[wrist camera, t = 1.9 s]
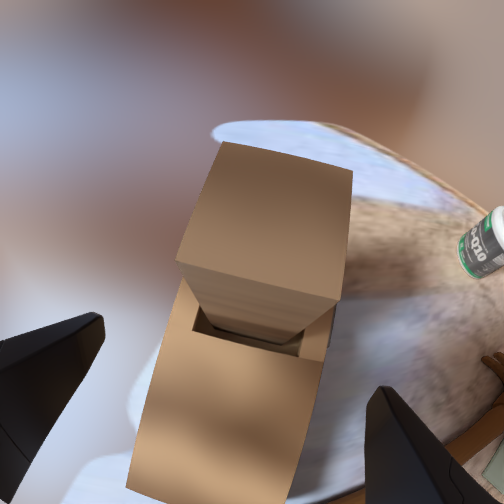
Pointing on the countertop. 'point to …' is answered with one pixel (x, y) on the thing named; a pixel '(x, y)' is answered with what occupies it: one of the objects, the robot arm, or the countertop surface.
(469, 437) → the hammer
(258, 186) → the brown wooden block
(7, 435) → the robot arm
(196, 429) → the slotted wooden slab
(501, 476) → the rubber mat
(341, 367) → the countertop surface
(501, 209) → the pill bottle
